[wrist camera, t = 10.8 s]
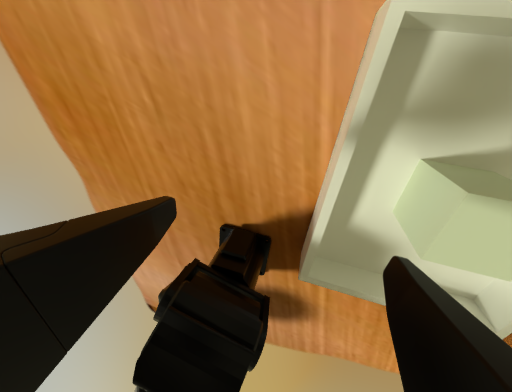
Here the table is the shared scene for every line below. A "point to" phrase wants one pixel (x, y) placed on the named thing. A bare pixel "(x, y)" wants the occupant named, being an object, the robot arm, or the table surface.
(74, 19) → the table surface
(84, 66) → the table surface
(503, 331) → the bin
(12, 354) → the robot arm
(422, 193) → the sage block
